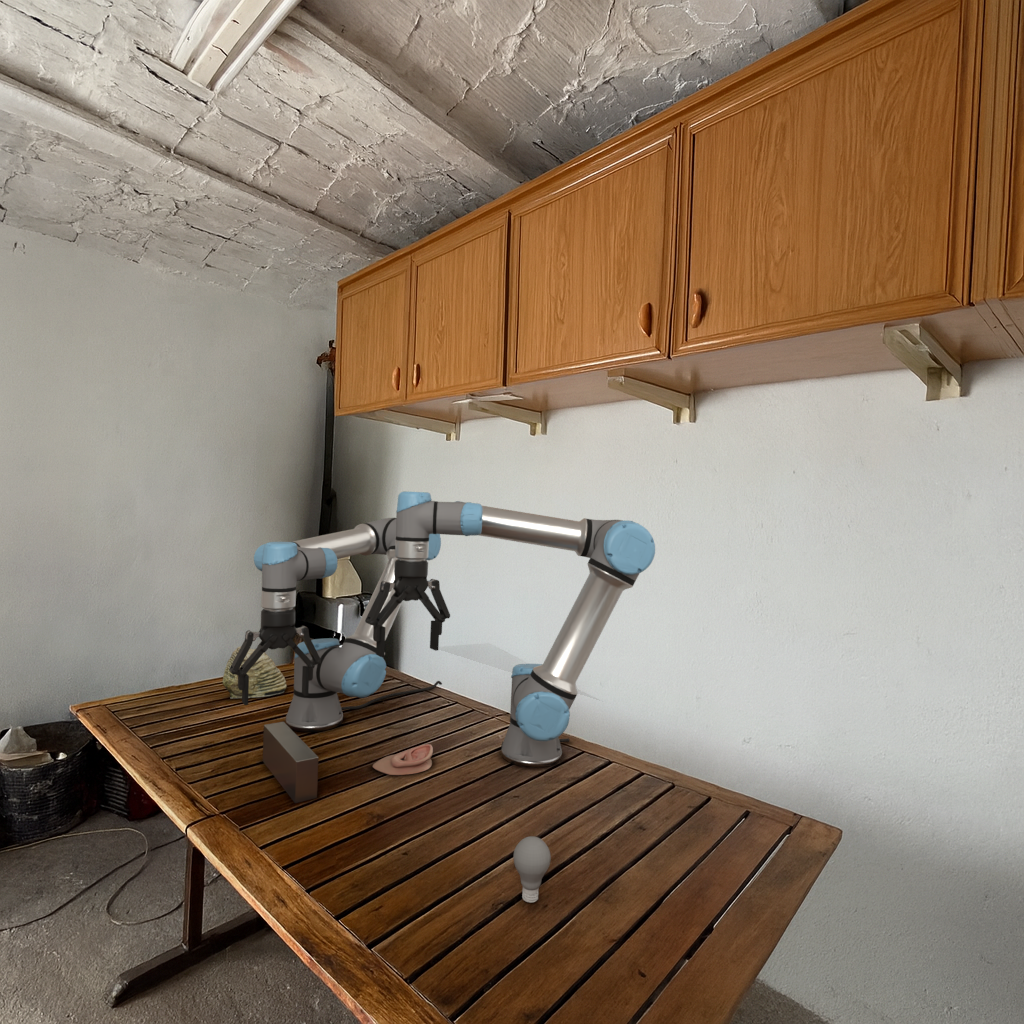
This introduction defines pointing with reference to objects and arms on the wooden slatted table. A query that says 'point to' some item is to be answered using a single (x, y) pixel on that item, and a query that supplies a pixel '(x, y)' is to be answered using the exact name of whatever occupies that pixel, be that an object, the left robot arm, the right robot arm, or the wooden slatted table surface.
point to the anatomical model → (406, 761)
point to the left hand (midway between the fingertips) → (275, 698)
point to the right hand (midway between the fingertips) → (407, 652)
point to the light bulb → (531, 865)
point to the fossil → (256, 677)
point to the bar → (290, 761)
